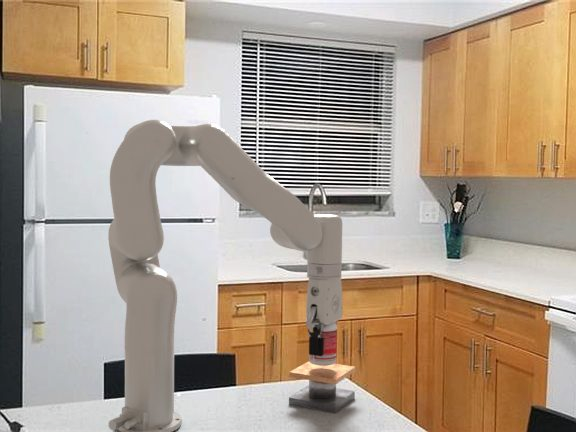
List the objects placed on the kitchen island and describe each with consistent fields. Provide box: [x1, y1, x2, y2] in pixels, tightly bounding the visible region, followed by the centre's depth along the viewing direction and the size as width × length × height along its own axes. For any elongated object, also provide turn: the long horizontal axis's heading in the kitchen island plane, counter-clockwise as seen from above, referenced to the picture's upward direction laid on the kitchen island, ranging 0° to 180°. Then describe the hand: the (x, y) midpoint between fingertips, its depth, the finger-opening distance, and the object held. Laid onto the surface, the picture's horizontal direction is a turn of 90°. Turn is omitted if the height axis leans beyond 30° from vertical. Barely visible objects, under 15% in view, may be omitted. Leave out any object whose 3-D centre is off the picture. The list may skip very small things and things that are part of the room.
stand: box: [288, 360, 356, 414], centre depth 147 cm, size 11×11×7 cm
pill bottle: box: [308, 320, 338, 366], centre depth 146 cm, size 6×6×11 cm
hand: (322, 350), depth 146 cm, fingers closed on pill bottle, 6 cm apart
